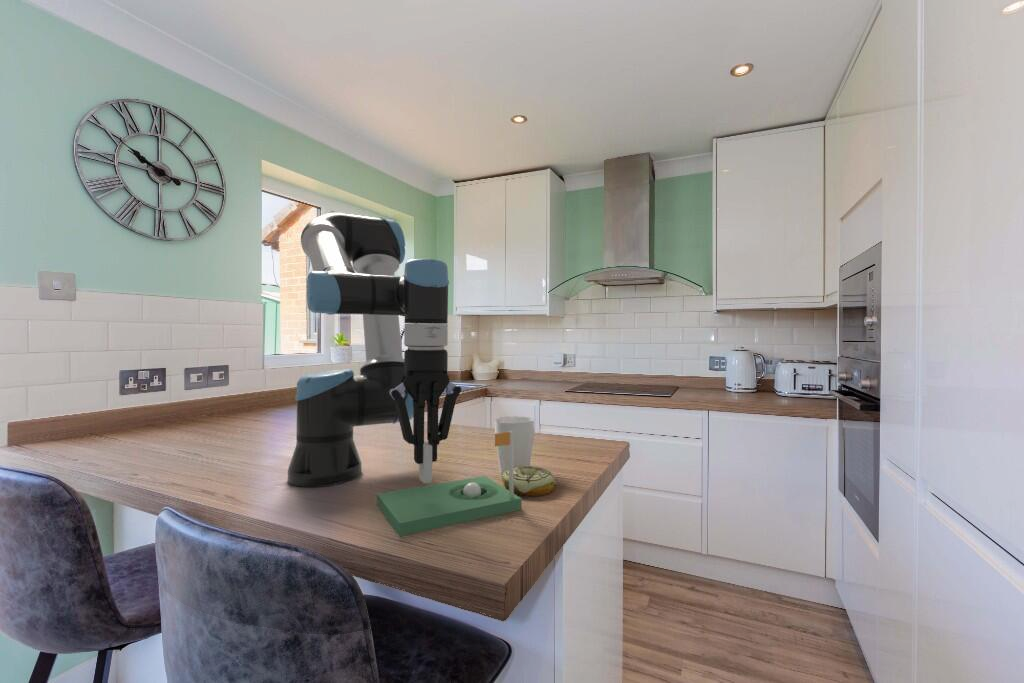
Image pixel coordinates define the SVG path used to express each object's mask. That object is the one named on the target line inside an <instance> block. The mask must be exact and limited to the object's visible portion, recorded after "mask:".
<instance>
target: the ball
mask: <svg viewBox="0 0 1024 683" xmlns="http://www.w3.org/2000/svg"><path fill="white" fill-rule="evenodd" d="M463 495H465V496H480V495H481V488H480V486H479V485H478V484H477V483H474V482H471V483H468V484H467V485H466V486H465V487H464V490H463Z"/></svg>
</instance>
